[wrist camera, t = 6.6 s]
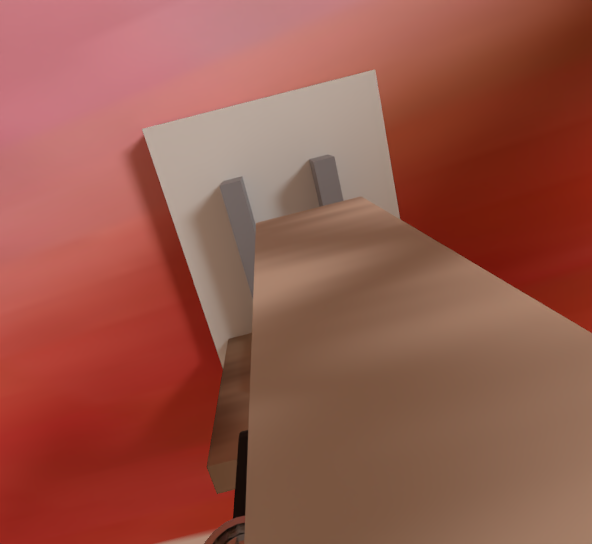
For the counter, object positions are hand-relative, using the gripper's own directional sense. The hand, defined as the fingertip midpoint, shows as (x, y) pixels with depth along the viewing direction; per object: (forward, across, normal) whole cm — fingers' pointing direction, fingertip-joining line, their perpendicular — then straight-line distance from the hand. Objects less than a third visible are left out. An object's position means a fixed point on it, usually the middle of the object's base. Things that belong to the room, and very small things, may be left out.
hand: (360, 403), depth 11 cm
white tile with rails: (+20, 0, 0) cm, 20 cm away
